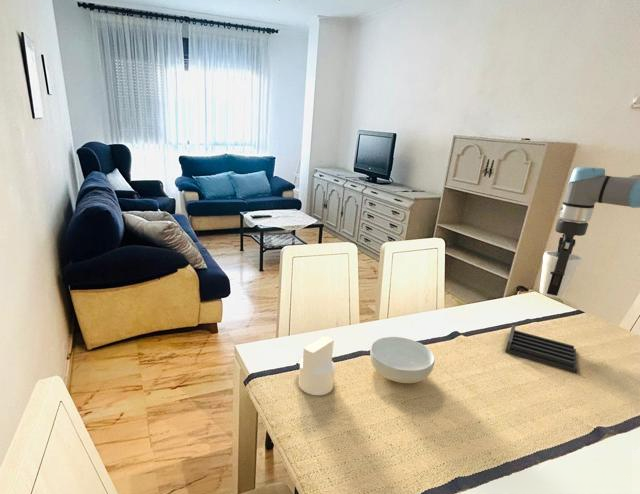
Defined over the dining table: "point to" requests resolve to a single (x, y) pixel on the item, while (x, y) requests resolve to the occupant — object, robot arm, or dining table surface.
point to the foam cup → (549, 267)
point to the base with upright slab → (317, 367)
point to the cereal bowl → (401, 359)
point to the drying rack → (542, 350)
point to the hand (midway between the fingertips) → (552, 289)
